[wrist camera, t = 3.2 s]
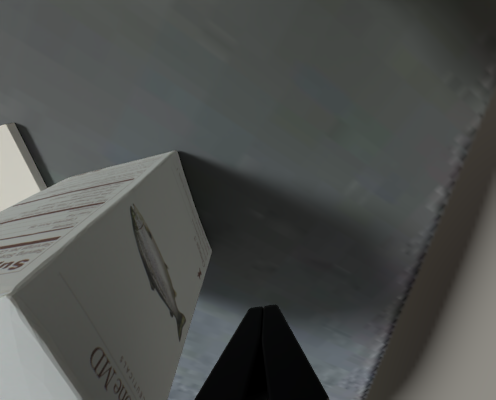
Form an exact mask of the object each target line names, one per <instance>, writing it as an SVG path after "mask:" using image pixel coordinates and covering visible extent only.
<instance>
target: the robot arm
mask: <svg viewBox="0 0 496 400" xmlns="http://www.w3.org/2000/svg"><path fill="white" fill-rule="evenodd" d="M195 400H329V397H328V395H327V393H326V392H325V390H324V388H323V386H322V384H321V383H320V381H319V379H318V377H317V375H316V374H315V372H314V370H313V368H312V367H311V365H310V363H309V361H308V359H307V358H306V356H305V354H304V352H303V350H302V349H301V347H300V345H299V343H298V341H297V340H296V338H295V336H294V334H293V332H292V331H291V329H290V327H289V325H288V323H287V322H286V320H285V318H284V316H283V314H282V313H281V311H280V309H279V307H278V306H277V305H269V306H265V307H264V308H263V307H254V308H250V309H249V310H248V312H247V313H246V315H245V317H244V318H243V320H242V322H241V323H240V325H239V327H238V328H237V330H236V331H235V333H234V335H233V336H232V338H231V340H230V341H229V343H228V345H227V346H226V348H225V350H224V351H223V353H222V355H221V356H220V358H219V360H218V361H217V363H216V365H215V366H214V368H213V370H212V371H211V373H210V375H209V376H208V378H207V380H206V381H205V383H204V385H203V386H202V388H201V390H200V391H199V393H198V395H197V396H196V398H195Z"/></svg>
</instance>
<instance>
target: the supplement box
mask: <svg viewBox="0 0 496 400" xmlns="http://www.w3.org/2000/svg"><path fill="white" fill-rule="evenodd" d="M211 253H212V249H211V247H210V245H209V242H208V240H207V237H206V235H205V232H204V230H203V227H202V224H201V222H200V219H199V216H198V213H197V211H196V208H195V205H194V202H193V199H192V196H191V193H190V190H189V187H188V184H187V181H186V178H185V175H184V171H183V168H182V165H181V162H180V158H179V155H178V152H177V151H171V152H167V153H163V154H159V155H156V156H152V157H148V158H144V159H140V160H136V161H132V162H128V163H124V164H120V165H116V166H112V167H108V168H103V169H99V170H95V171H91V172H87V173H83V174H80V175H76V176H72V177H69V178H67V179H65V180H63V181H61V182H59V183H57V184H55V185H53V186H51V187H49V188H47V189H45V190H42V191H40V192H38V193H36V194H34V195H32V196H30V197H28V198H26V199H24V200H22V201H20V202H18V203H17V204H15V205H13V206H11V207H9V208H7V209H5V210H3V211H1V212H0V400H167V399H168V396H169V392H170V389H171V386H172V382H173V379H174V376H175V373H176V369H177V366H178V363H179V359H180V356H181V353H182V350H183V346H184V343H185V339H186V336H187V333H188V330H189V326H190V323H191V320H192V317H193V313H194V310H195V307H196V303H197V300H198V297H199V293H200V290H201V287H202V284H203V280H204V277H205V274H206V270H207V267H208V264H209V260H210V257H211Z"/></svg>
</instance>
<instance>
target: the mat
mask: <svg viewBox="0 0 496 400" xmlns="http://www.w3.org/2000/svg"><path fill="white" fill-rule="evenodd" d="M45 189H47V186H46V184H45V183H44V181H43V179H42V177H41V175H40V173H39V171H38V169H37V167H36V165H35V163H34V161H33V159H32V157H31V155H30V153H29V151H28V149H27V147H26V145H25V143H24V141H23V139H22V137H21V135H20V133H19V131H18V129H17V127H16V125H15V123H10V124H6V125H1V126H0V212H1V211H3V210H5V209H7V208H9V207H11V206H13V205H15V204H17V203H18V202H20V201H22V200H24V199H26V198H28V197H30V196H32V195H34V194H36V193H38V192H40V191H42V190H45Z"/></svg>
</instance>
